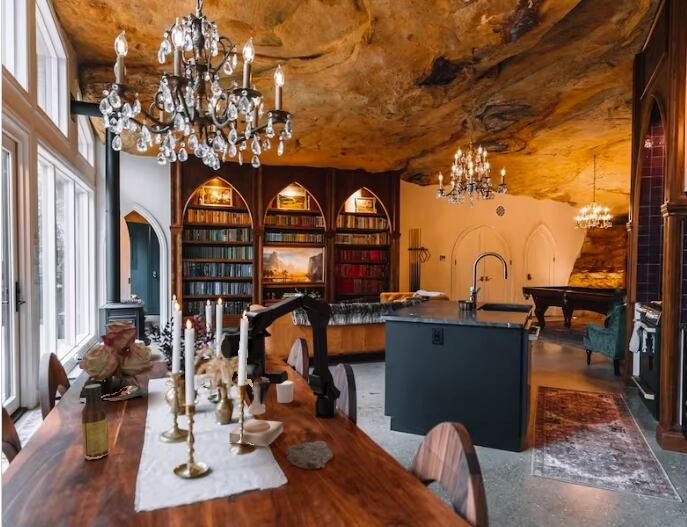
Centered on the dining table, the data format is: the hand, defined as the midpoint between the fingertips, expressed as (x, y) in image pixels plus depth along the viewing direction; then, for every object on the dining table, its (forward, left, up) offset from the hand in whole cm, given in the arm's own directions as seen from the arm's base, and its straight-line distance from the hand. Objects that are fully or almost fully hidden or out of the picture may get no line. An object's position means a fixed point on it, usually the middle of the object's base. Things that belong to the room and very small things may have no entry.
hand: (256, 403), depth 140 cm
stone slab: (-21, +9, -11) cm, 25 cm away
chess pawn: (0, 0, -3) cm, 3 cm away
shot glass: (+5, -35, -11) cm, 37 cm away
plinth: (0, 0, -10) cm, 10 cm away
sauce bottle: (+38, +23, -11) cm, 46 cm away
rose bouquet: (+74, -28, -11) cm, 80 cm away
